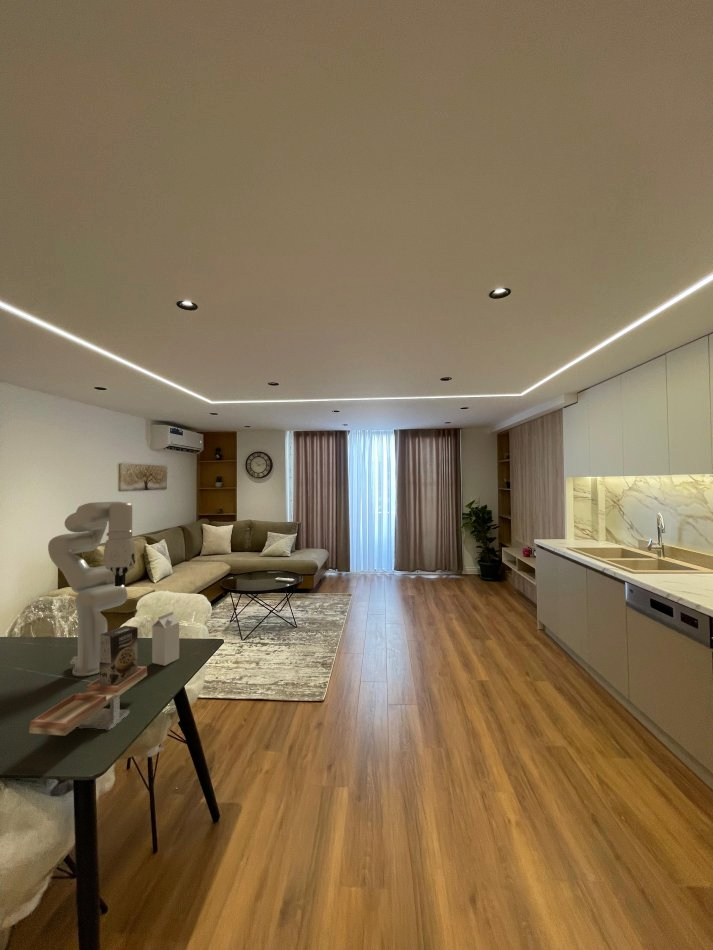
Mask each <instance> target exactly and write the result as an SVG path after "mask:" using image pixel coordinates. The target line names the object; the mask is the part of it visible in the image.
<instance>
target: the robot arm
mask: <svg viewBox="0 0 713 950" xmlns="http://www.w3.org/2000/svg"><path fill="white" fill-rule="evenodd" d="M64 527H65V528H66V530H68V531H69V532H72V533H64V534H60V535H56V536H54V537H52V538H51V539H50V540H49V541H48V545H47V551H48V555H49V558H50V560H51V561H52V563H53V564H54V565H55V566H56V567H57V569H59V570H60V571H61V572H62V574H63V576H64V578H65V579H66V581H67V583H68V585H69V587H70V588H71V590H72V591H73V592H74V593H76V594H77V595H76V596H75V600H74V605H75V609H76V615H77V656H73V657H72V659H71V660H70V661H69V664H70V665H74V667H73V669H72V675H73V676H76V677H87V676H93V675H96V674H99V666H100V634H103V633H106V632H108V620H107V617H105V616H104V615H103V614H102V613H101V611H105V610H109V609H112V608H115V607H120V606H122V605H123V604H124V603H126V601H127V600H128V590H127V587H126V586H125V585H126V575H127V574H128V572H129V571H130V570H134V569H135V564H136V561H137V553H136V552H137V550H136V544H135V539H134V538H133V505H132V503H130V502H122V501H99V502H95V501H93V502H88V503H87V502H86V503H84V504H81V505H80V506H78V507H77V509H76V511H75V512H72V513H71V514H69V515H68V516H67V517H66V518H65V520H64ZM107 527H108V532H107V533H106V530H107ZM105 533H106V536H107V539H106V541H105V544H104V548H103V556H102V557H103V559H102V565H101V566H94V567H92V566H91V567H90V566H89V564H88V563H87V562H86V560H85V559H84V558H82V557H81V556H79V555H76V554H79V553H86V552H92V551H95V550H97V549H98V548H99V546H100V544H101V542H102V539H103V537H104V534H105Z"/></svg>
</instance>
